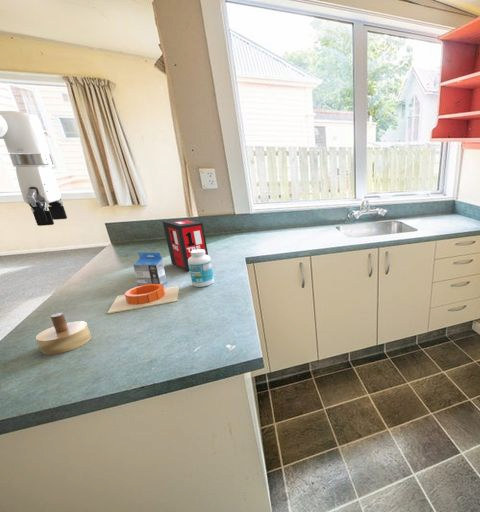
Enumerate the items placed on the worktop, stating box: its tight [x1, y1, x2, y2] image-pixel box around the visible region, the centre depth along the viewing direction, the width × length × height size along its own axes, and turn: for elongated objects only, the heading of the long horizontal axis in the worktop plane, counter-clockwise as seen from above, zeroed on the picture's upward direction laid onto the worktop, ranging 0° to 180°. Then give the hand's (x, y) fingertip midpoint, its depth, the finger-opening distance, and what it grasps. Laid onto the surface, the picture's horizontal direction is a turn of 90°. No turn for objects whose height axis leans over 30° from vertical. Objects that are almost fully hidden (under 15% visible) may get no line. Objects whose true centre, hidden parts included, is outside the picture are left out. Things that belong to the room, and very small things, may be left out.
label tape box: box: [133, 251, 168, 286], centre depth 112 cm, size 9×4×12 cm, turn 90°
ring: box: [124, 284, 165, 305], centre depth 102 cm, size 10×10×3 cm
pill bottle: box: [188, 249, 215, 288], centre depth 113 cm, size 8×7×14 cm
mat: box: [106, 285, 180, 315], centre depth 102 cm, size 18×14×1 cm
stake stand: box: [35, 312, 92, 356], centre depth 76 cm, size 9×9×8 cm
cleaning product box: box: [162, 217, 209, 272], centre depth 132 cm, size 16×9×20 cm, turn 56°
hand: (53, 222), depth 87 cm, fingers open, 9 cm apart
